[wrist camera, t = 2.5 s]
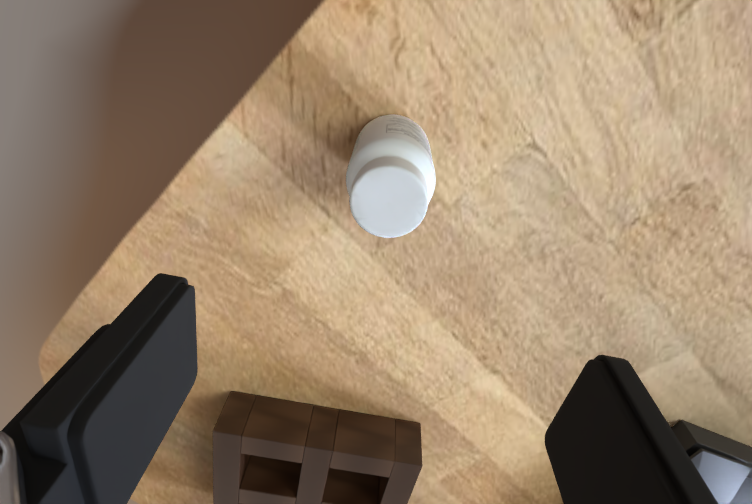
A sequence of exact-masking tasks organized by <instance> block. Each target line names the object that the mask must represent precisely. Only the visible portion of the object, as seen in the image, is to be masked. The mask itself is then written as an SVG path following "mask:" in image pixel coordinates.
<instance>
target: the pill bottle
mask: <svg viewBox="0 0 752 504" xmlns="http://www.w3.org/2000/svg"><path fill="white" fill-rule="evenodd" d="M435 180H436V179H435V169H434V165H433V160H432V155H431V150H430V145H429V141H428V139H427V136H426V134H425V132H424V131H423V129H422V128H421V127H420V126H419V125H418V124H417V123H416V122H414V121H413V120H411V119H409V118H407V117H405V116H401V115H396V114H390V115H384V116H380V117H377V118H375V119H374V120H372V121H370V122H369V123H368V124H367V125H366V126H365V127H364V128H363V129H362V131H361V132H360V134H359V135H358V138H357V140H356V143H355V146H354V150H353V153H352V156H351V159H350V162H349V165H348V168H347V173H346V185H347V190H348V194H349V196H350V199H349V202H350V208H351V212H352V215H353V217H354V219H355V220H356V222H357V223H358V224H359V225H360V226H361V227H362V228H363V229H364V230H366V231H367V232H369V233H370V234H373V235H376V236H379V237H385V238H393V237H399V236H402V235H405V234H407V233H409V232H411V231H412V230H414V229H415V228H416V227H417V226H418V225H419V224H420V223H421V221H422V220H423V218H424V216H425V214H426V211H427V207H428V203H429V201H430V199H431V197H432V195H433V192H434V189H435Z"/></svg>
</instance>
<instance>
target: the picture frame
mask: <svg viewBox="0 0 752 504" xmlns="http://www.w3.org/2000/svg"><path fill="white" fill-rule="evenodd" d="M671 429H672V431H673V432H674V434H675V435H676V437H677V439H678V440H679V442H680V443H681V445H682V446H683V448H684V450H685V451H686V453H687V454H688V456H689V458H690V459H691V461H692V462H693V464H694V465H695V467H696V469H697V470H698V472H699V473H700V475H701V477H702V478H703V480H704V481H705V483H706V484H707V486H708V488H709V489H710V491H711V492H712V494H713V496H714V497H715V499H716V500H717V502H718V503H719V504H752V447H750V446H747V445H745V444H742V443H739V442H737V441H734V440H732V439H729V438H727V437H724V436H722V435H719V434H716V433H714V432H711V431H709V430H706V429H704V428H701V427H698V426H696V425H693V424H691V423H688V422H686V421H683V420H681V421H680V422H679V423H677V424H676V425H675V426H674V427H672V428H671Z"/></svg>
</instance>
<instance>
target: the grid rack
mask: <svg viewBox="0 0 752 504" xmlns="http://www.w3.org/2000/svg"><path fill="white" fill-rule="evenodd" d="M421 468H422V448H421V426H420V423H416V422H410V421H405V420H399V419H392V418H387V417H381V416H375V415H369V414H363V413H357V412H351V411H346V410H338V409H333V408H327V407H321V406H314V405H310V404H305V403H299V402H293V401H287V400H281V399H275V398H269V397H264V396H258V395H257V396H256V395H251V394H246V393H240V392H234V391H231V392H230V394H229V396H228V398H227V401H226V403H225V405H224V407H223V410H222V412H221V414H220V416H219V419H218V421H217V423H216V425H215V428H214V430H213V498H214V504H407V503H408V501H409V498H410V496H411V493H412V490H413V488H414V485H415V483H416V480H417V478H418V475H419V473H420V470H421Z"/></svg>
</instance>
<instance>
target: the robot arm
mask: <svg viewBox="0 0 752 504" xmlns="http://www.w3.org/2000/svg"><path fill="white" fill-rule="evenodd" d="M196 376H197V340H196V310H195V289H194V286H191V285H188V281H187V279H186V278H183V277H178V276H172V275H167V274H162V273H160V274H157V275H156V276H155V277H154V278H153V279H152V280H151V281H150V282H149V283H148V284H147V285H146V287H145V288H144V289H143V290H142V291H141V292H140V293H139V294H138V295H137V296H136V297H135V298H134V299H133V301H132V302H131V303H130V304H129V305H128V306H127V307H126V308H125V309H124V310H123V311H122V312H121V313H120V315H119V316H118V317H117V318H116V319H115V320H114V321H113V322H112V323H111V324H107V325H104V326H102V327H101V328H99V329H98V330H97V331H96V332H95V333H94V334H93V335H92V336H91V337H90V338H89V339H88V340H87V341H86V342H85V343H84V345H83V346H82V347H81V348H80V349H79V350H78V351H77V352H76V353H75V354H74V355H73V356H72V357H71V358H70V359H69V360H68V361H67V362H66V363H65V364H64V366H63V367H62V368H61V369H60V370H59V371H58V372H57V373H56V374H55V375H54V376H53V377H52V378H51V379H50V380H49V381H48V382H47V383H46V384H45V385H44V387H43V388H42V389H41V390H40V391H39V392H38V393H37V394H36V395H35V396H34V397H33V398H32V399H31V400H30V401H29V402H28V403H27V404H26V405H25V406H24V408H23V409H22V410H21V411H20V412H19V413H18V414H17V415H16V416H15V417H14V418H13V419H12V420H11V421H10V422H9V423H8V424H7V425H6V426H5V427H4V429H3V430H2V431H0V504H127V502H128V500H129V499H130V497H131V495H132V493H133V492H134V490H135V488H136V486H137V484H138V483H139V481H140V479H141V477H142V476H143V474H144V472H145V470H146V468H147V467H148V465H149V463H150V461H151V459H152V458H153V456H154V454H155V452H156V451H157V449H158V447H159V445H160V443H161V442H162V440H163V438H164V436H165V434H166V433H167V431H168V429H169V427H170V426H171V424H172V422H173V420H174V418H175V417H176V415H177V413H178V411H179V409H180V408H181V406H182V404H183V402H184V401H185V399H186V397H187V395H188V393H189V392H190V390H191V388H192V386H193V384H194V382H195V379H196ZM545 446H546V450H547V453H548V456H549V459H550V462H551V465H552V468H553V472H554V475H555V478H556V481H557V484H558V487H559V490H560V493H561V497H562V500H563V503H564V504H719V503H718V502H717V500H716V499H715V497H714V496H713V494H712V492H711V491H710V489H709V488H708V486H707V484H706V483H705V481H704V480H703V478H702V477H701V475H700V473H699V472H698V470H697V469H696V467H695V465H694V464H693V462H692V461H691V459H690V458H689V456H688V454H687V453H686V451H685V450H684V448H683V446H682V445H681V443H680V442H679V440H678V439H677V437H676V435H675V434H674V432H673V431H672V429H671V427H670V426H669V424H668V423H667V421H666V420H665V418H664V416H663V415H662V413H661V412H660V410H659V408H658V407H657V405H656V404H655V402H654V401H653V399H652V397H651V396H650V394H649V393H648V391H647V389H646V388H645V386H644V385H643V383H642V382H641V380H640V378H639V377H638V375H637V374H636V372H635V371H634V369H633V367H632V366H631V364H630V363H629V362H628V361H627V360H625V359H621V358H616V357H611V356H605V355H598V356H597V357H596V358H595V359H594V360H589V361H588V362H587V363H586V365H585V367H584V368H583V370H582V372H581V373H580V375H579V377H578V379H577V380H576V382H575V384H574V385H573V387H572V389H571V390H570V392H569V394H568V395H567V397H566V399H565V400H564V402H563V404H562V406H561V407H560V409H559V411H558V412H557V414H556V416H555V417H554V419H553V421H552V422H551V424H550V426H549V427H548V429H547V431H546V434H545Z"/></svg>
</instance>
